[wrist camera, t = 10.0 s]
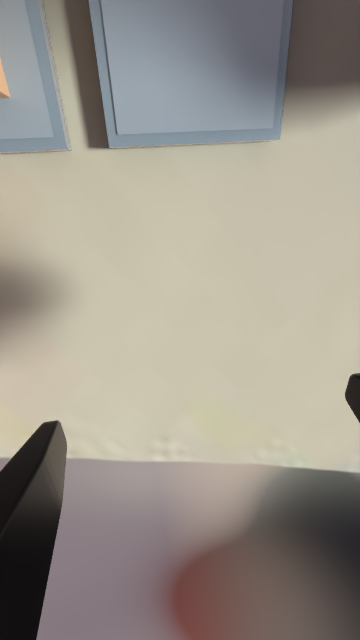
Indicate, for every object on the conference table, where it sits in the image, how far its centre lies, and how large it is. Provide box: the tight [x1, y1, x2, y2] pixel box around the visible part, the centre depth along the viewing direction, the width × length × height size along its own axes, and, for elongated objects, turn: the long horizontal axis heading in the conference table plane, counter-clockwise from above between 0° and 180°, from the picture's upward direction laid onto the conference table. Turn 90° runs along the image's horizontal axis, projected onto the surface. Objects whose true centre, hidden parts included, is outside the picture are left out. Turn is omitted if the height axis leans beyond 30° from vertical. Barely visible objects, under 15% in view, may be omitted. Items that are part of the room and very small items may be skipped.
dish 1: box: [88, 0, 293, 149], centre depth 13 cm, size 9×9×1 cm
